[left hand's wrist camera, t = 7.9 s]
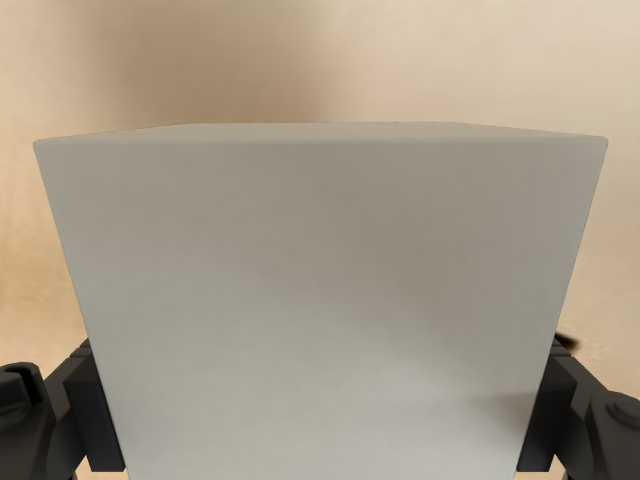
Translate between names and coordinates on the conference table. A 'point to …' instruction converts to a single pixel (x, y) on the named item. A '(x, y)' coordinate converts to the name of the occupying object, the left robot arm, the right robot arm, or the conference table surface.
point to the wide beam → (321, 291)
